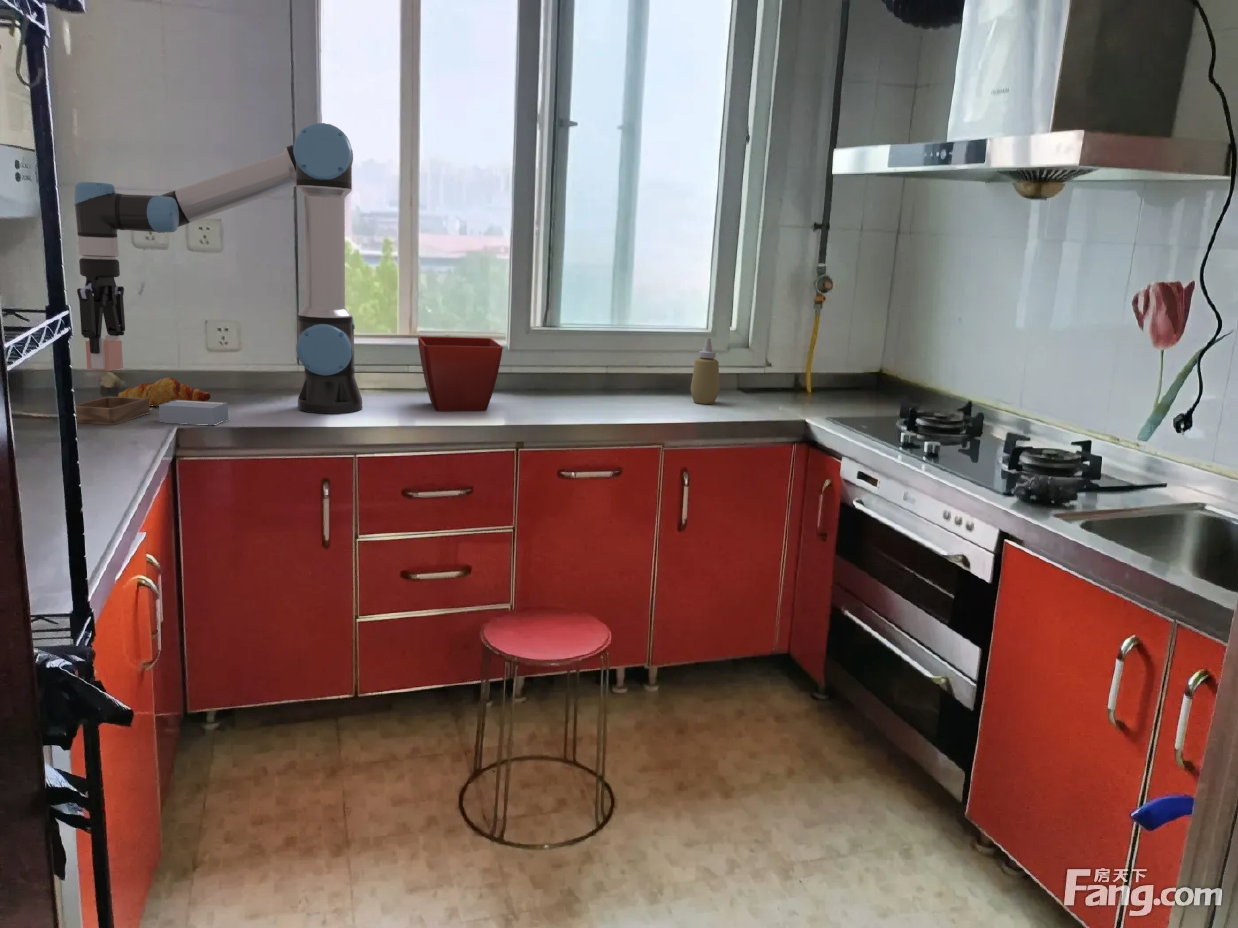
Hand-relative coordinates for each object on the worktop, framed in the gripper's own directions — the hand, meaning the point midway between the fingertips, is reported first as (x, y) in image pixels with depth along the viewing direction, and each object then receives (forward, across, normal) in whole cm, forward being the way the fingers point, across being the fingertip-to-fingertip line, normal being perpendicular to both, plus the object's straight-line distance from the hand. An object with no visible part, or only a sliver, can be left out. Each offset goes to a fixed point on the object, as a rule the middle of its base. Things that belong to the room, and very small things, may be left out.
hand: (106, 366), depth 211 cm
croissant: (+12, -20, +2) cm, 23 cm away
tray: (+11, 0, 0) cm, 11 cm away
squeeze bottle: (+11, -67, +132) cm, 149 cm away
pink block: (0, 0, 0) cm, 1 cm away
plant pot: (+11, -38, +69) cm, 80 cm away
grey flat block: (+11, -1, +19) cm, 22 cm away
